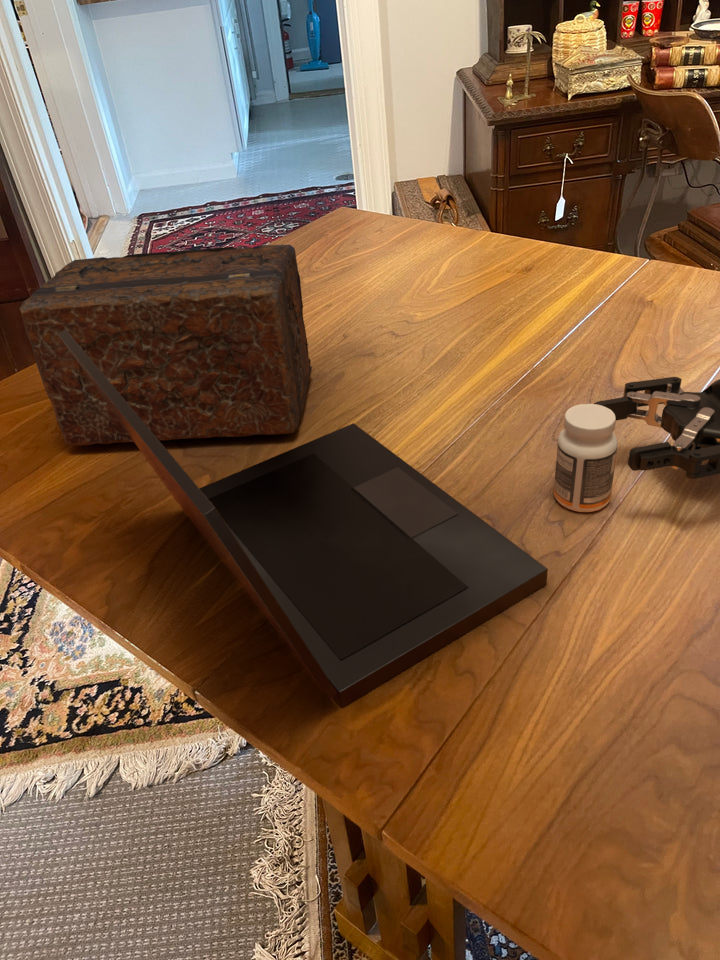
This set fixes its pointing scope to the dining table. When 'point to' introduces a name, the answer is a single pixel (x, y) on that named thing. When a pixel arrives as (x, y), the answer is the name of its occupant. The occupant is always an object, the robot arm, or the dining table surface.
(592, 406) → the pill bottle
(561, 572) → the dining table surface
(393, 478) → the laptop
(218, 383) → the decorative box
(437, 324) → the dining table surface
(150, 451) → the laptop screen
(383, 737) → the dining table surface
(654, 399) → the robot arm
